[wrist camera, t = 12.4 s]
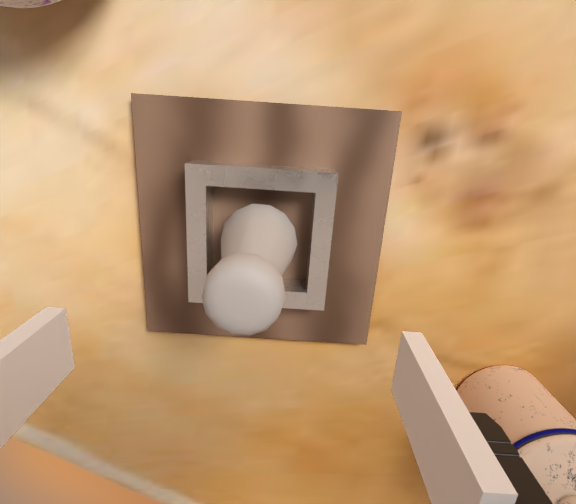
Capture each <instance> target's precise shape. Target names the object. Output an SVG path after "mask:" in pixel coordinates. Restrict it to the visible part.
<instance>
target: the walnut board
mask: <svg viewBox="0 0 576 504" xmlns="http://www.w3.org/2000/svg"><path fill="white" fill-rule="evenodd" d="M131 99H132V114H133V128H134V142H135V157H136V171H137V185H138V199H139V214H140V228H141V242H142V256H143V271H144V285H145V299H146V313H147V328H148V331H156V332H172V333H189V334H205V335H221V336H237V337H253V338H269V339H286V340H302V341H318V342H334V343H350V344H366V342H367V336H368V329H369V323H370V316H371V310H372V303H373V297H374V290H375V284H376V277H377V271H378V264H379V257H380V251H381V244H382V238H383V231H384V225H385V218H386V212H387V205H388V199H389V192H390V186H391V179H392V173H393V166H394V160H395V153H396V146H397V140H398V133H399V127H400V120H401V114H402V111H387V110H372V109H357V108H342V107H327V106H312V105H297V104H282V103H268V102H253V101H238V100H223V99H208V98H193V97H178V96H163V95H148V94H133V93H131ZM192 160H200V161H215V162H230V163H246V164H261V165H276V166H291V167H306V168H322V169H335V170H336V171H337V172H338V173H339V174H338V184H337V193H336V203H335V212H334V221H333V231H332V240H331V250H330V259H329V269H328V278H327V287H326V297H325V306H324V311H322V310H306V309H290V308H282V310H281V313H280V315H279V317H278V319H277V320H276V321H275V322H274V323H273V324H272V325H271V326H270V327H269V328H268V329H267V330H265V331H262V332H259V333H256V334H253V335H233V334H231V333H229V332H227V331H225V330H223V329H221V328H219V327H217V326H216V325H215V324H214V323H213V322H212V320H211V319H210V318H209V317H208V316H207V315H206V313H205V309H204V305H203V303H194V302H188V268H187V232H186V196H185V163H187V162H190V161H192ZM250 204H264V205H271V206H273V207H274V208H276V209H278V210H280V211H282V212H283V213H285V215H286V216H287V217H288V219H289V220H290V222H291V223H292V225H293V226H294V228H295V233H296V239H297V247H296V250H295V253H294V256H293V259H292V261H291V262H290V264H289V266H288V267H287V269H286V270H285V272H284V274H283V275H282V277H283V279H294V280H306V275H307V263H308V251H309V240H310V228H311V216H312V205H313V193H310V192H295V191H279V190H264V189H249V188H233V187H218V186H213V267H214V266H215V265H216V264H217V263H218V262H219V261H220V260H221V236H222V231H223V227H224V223H225V222H226V221H227V220H228V219H229V217H230V216H231V215H232V214H233V213H234V212H235V211H236V210H238V209H241V208H243V207H246V206H248V205H250Z"/></svg>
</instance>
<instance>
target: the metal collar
mask: <svg viewBox="0 0 576 504" xmlns="http://www.w3.org/2000/svg"><path fill="white" fill-rule="evenodd" d="M338 174H339V173H338V172H337V171H336V170H335V169H322V168H306V167H291V166H276V165H261V164H246V163H230V162H215V161H200V160H192V161H190V162H187V163H185V196H186V232H187V268H188V302H194V303H203V300H202V293H203V288H204V284H205V280H206V276H207V274H208V273H209V272H210V271H211V270H212V268H213V186H218V187H233V188H249V189H264V190H279V191H295V192H310V193H313V205H312V216H311V228H310V240H309V251H308V263H307V275H306V280H294V279H283V282H284V288H285V295H286V298H285V301H284V304H283V307H282V308H290V309H306V310H322V311H324V306H325V297H326V287H327V278H328V269H329V259H330V250H331V240H332V231H333V221H334V212H335V203H336V193H337V184H338Z"/></svg>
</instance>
